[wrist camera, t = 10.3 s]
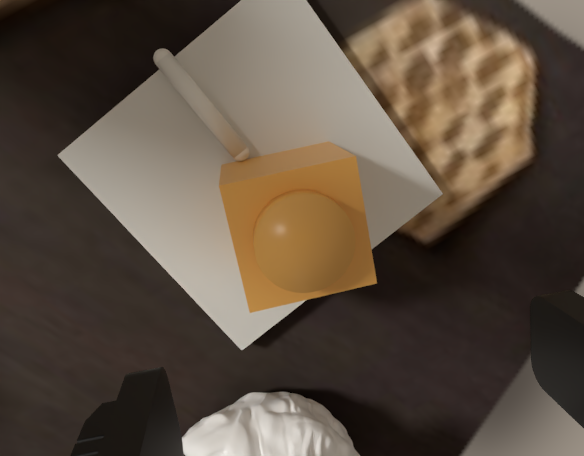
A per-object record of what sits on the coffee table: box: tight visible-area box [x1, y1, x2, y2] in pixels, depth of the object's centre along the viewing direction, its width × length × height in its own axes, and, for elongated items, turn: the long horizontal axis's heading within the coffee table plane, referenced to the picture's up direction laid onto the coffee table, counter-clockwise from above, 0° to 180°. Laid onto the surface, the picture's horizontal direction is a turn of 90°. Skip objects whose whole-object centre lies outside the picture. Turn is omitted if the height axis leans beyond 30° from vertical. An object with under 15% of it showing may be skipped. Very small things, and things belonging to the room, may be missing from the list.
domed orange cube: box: [219, 141, 377, 313], centre depth 24 cm, size 6×6×7 cm
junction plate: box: [57, 0, 443, 350], centre depth 25 cm, size 15×14×6 cm
